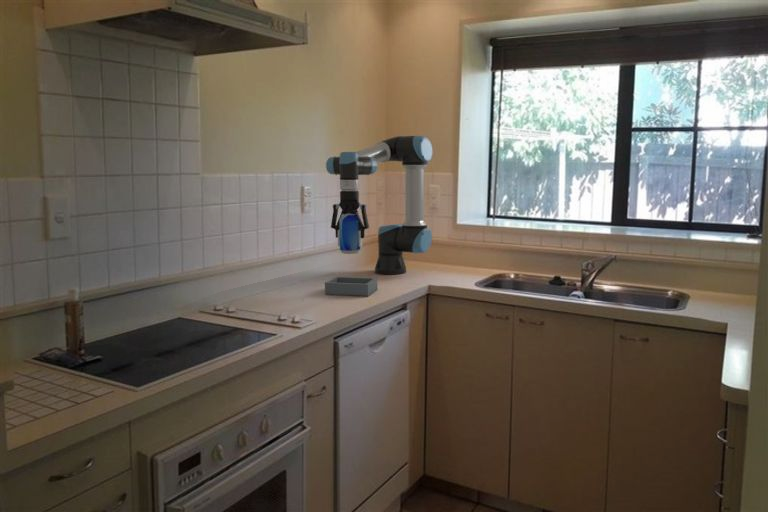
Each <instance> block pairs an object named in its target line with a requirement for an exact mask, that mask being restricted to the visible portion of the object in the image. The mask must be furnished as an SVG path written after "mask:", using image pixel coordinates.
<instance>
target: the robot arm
mask: <svg viewBox="0 0 768 512" xmlns="http://www.w3.org/2000/svg"><path fill="white" fill-rule="evenodd" d="M433 152H434V151H433V146H432V143H431V141H430V140H429V138H428V137H427V136H424V135H407V136H402V135H399V136H394V137H389V138H386V139H385V140H382V141H378V142H376V143H375V144H374V145H373V146H369V147H365V148H363V149H359V150H357V151H342V152H340V153H339V156H332V157H331V156H330V157H329V158H327V159H326V162H325V168H326V171H327V173H329V174H330V175H335V176H337V175H338V176H339V189H340V190H341V191H340V192H339V200H340V201H339V203H335V204H333V205H332V218H331V223H330V228H331V229H334V230H335V238H337V247H340V227H339V219H340V217H341V216H342V214H346V213H353V214H355V215H356V217H357V218H358V225H359V228H360V230H359V231H358V233H359V247H360V248H361V247H363V239H364V238H365V235H366V234H365V230H367V229H369V228H370V225H369V221H368V215H367V204H362V203H360V199H359V197H360V196H359V195H360V193H359V191H358V190H359V185H360V184H359V176H370V175H373V174H375V173H376V171H377V169H378V163H386V162H399V163H401V164H402V165H401V166H402V167H403V168H404V169H405V176H404V177H405V192H404V193H405V197H404V198H405V207H404V209H405V210H404V212H405V216H404V217H405V221H404V222H402V223H395V224H394V223H393V224H387V225H380V226H379V227H378V232H377V233H378V234H377V238H378V241H377V243H378V244H377V245H378V255H377V256H378V257H377V260H376V263H375V266H374V273H376V274H380V275H400V274H401V275H402V274H405V273H407V267H406V262H405V260H404V257H403V256H404V255H403V253H412V254H413V253H414V254H424V253H426V252H427V251H428V250H429V248H430V247H431V245H432V242H433V241H432V240H433V234H432V231H431V229H429V228H428V224H427V222H425V220H424V219H425V218H424V217H425V215H424V214H425V212H424V211H425V201H424V200H425V169H426V167H428V162H430V161H431V160H432V158H433ZM339 209H341V212H340V214H338V213H339ZM358 209H360V211H361V212H360V213H361V216H360V214H359V211H358ZM338 215H339V218H338ZM337 218H338V220H337Z"/></svg>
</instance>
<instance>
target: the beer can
mask: <svg viewBox="0 0 768 512" xmlns="http://www.w3.org/2000/svg"><path fill="white" fill-rule="evenodd" d="M339 217H340V216H339ZM338 220H339V227H340V229H339V230H340V246H339V250H340V252H341V253H342V254H345V255H346V254H347V255H351V254H352V255H353V254H355V255H356V254H359V252H360V251H361V247H359V233H358V231H359V230H360V228H359V225H358V218H357V217H356V215H355V214H353V213H346V214H342V216H341V217H340V219H339V218H338Z"/></svg>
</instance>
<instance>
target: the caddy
mask: <svg viewBox="0 0 768 512" xmlns="http://www.w3.org/2000/svg"><path fill="white" fill-rule="evenodd" d="M376 291H378V278H377V277H361V276H360V277H359V276H358V277H355V276H353V277H352V276H335V277H332V278H330V279H329V280H327V281H325V282H324V295H325V296H341V297H342V296H345V297H361V296H362V297H366V298H369V297H370V296H371V295H373V293H375V292H376ZM362 297H361V298H362Z"/></svg>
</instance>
